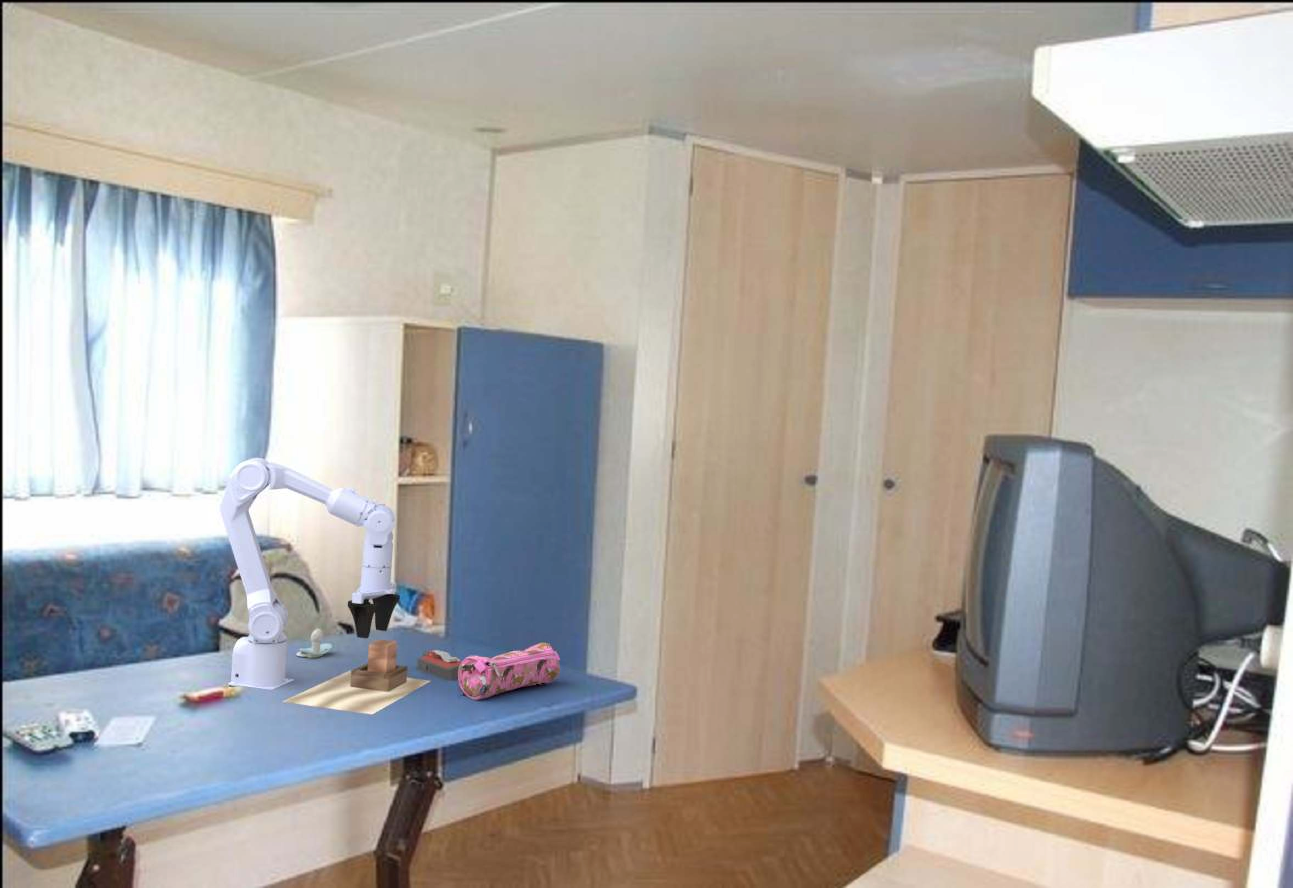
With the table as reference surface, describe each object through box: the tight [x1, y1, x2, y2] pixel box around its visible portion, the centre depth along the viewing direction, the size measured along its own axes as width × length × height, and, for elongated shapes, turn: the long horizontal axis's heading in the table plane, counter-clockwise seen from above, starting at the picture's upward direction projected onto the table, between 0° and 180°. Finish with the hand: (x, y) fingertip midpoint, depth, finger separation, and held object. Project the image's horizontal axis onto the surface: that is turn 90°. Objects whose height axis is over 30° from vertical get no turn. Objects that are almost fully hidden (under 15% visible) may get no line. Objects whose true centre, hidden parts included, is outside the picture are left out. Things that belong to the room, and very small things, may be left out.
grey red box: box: [416, 649, 462, 681], centre depth 219 cm, size 9×4×20 cm
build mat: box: [282, 662, 432, 715], centre depth 197 cm, size 18×25×4 cm
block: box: [367, 639, 398, 674], centre depth 202 cm, size 4×4×6 cm
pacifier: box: [296, 628, 333, 659], centre depth 223 cm, size 7×6×6 cm
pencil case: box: [457, 642, 561, 701], centre depth 206 cm, size 21×9×9 cm, turn 140°
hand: (372, 633), depth 203 cm, fingers open, 7 cm apart
